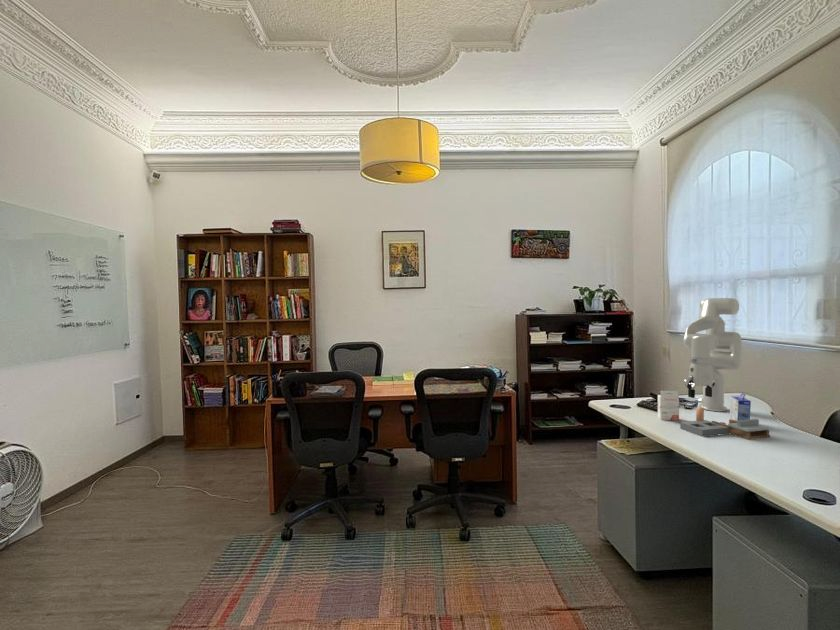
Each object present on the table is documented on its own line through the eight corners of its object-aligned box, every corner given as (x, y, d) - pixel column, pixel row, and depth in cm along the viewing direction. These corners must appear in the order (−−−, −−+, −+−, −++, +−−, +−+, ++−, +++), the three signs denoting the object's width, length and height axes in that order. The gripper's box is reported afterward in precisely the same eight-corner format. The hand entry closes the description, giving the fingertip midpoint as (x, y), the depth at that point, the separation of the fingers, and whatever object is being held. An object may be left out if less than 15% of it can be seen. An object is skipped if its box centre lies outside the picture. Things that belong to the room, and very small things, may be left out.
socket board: (680, 428, 200) (680, 422, 200) (705, 426, 203) (705, 420, 203) (702, 436, 189) (702, 429, 188) (728, 434, 192) (728, 427, 191)
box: (710, 427, 202) (710, 421, 201) (731, 425, 204) (731, 419, 204) (747, 439, 184) (747, 432, 184) (769, 437, 187) (770, 430, 186)
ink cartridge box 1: (675, 418, 218) (676, 389, 217) (679, 420, 213) (679, 391, 212) (657, 417, 220) (657, 388, 219) (660, 419, 215) (660, 390, 214)
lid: (728, 425, 193) (728, 418, 193) (748, 423, 196) (748, 416, 195) (747, 431, 184) (747, 424, 184) (768, 429, 187) (768, 422, 187)
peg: (694, 423, 207) (694, 407, 207) (699, 423, 208) (700, 407, 208) (699, 425, 204) (700, 409, 204) (705, 425, 205) (705, 408, 205)
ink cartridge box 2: (751, 426, 202) (751, 396, 201) (737, 425, 204) (737, 395, 203) (742, 420, 211) (742, 391, 211) (729, 420, 213) (729, 391, 213)
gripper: (691, 362, 199) (691, 399, 200) (722, 361, 203) (722, 397, 204) (678, 360, 207) (678, 396, 207) (708, 359, 210) (708, 394, 211)
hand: (700, 396), depth 205 cm, fingers open, 9 cm apart
